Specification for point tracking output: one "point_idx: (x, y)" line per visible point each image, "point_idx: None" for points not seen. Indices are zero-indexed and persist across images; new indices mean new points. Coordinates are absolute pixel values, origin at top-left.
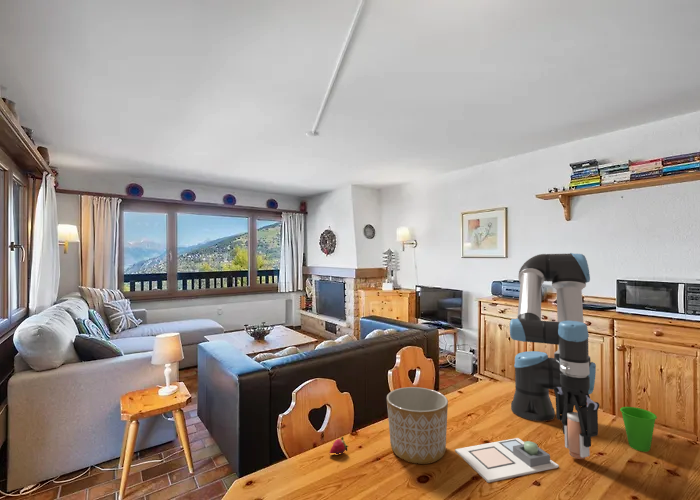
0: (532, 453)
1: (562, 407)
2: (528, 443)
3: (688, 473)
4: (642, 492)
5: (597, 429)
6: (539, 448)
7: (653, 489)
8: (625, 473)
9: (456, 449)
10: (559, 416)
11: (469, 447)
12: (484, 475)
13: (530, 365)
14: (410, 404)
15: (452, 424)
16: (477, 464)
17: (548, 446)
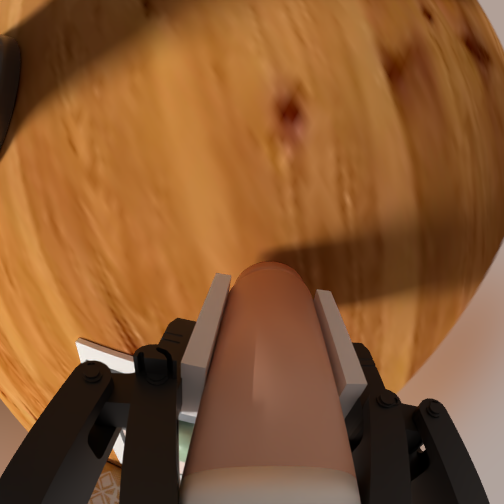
0: None
1: (72, 486)
2: (179, 454)
3: (486, 27)
4: (479, 275)
5: (458, 440)
6: (190, 416)
7: (494, 226)
8: (430, 202)
9: (121, 462)
10: (114, 439)
11: (116, 449)
12: None
13: None
14: None
15: (20, 384)
16: (180, 478)
17: (137, 289)
